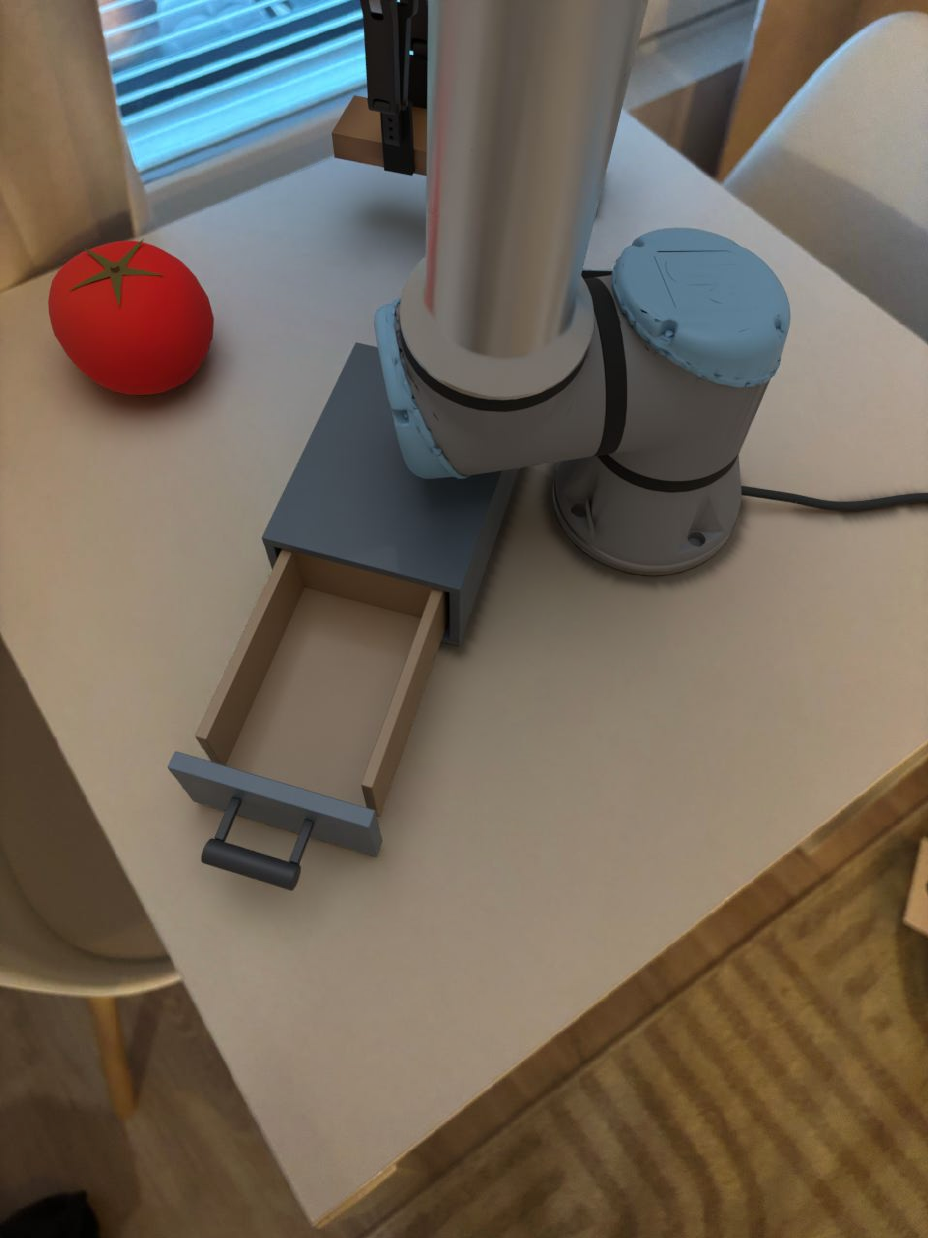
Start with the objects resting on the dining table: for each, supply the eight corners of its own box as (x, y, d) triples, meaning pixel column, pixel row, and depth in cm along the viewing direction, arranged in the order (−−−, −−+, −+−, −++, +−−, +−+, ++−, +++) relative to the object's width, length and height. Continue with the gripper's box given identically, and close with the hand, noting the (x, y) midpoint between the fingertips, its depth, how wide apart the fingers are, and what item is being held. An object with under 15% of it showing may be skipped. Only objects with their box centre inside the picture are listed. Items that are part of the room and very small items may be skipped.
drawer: (354, 922, 61) (344, 899, 55) (165, 863, 63) (135, 834, 57) (457, 625, 72) (457, 578, 66) (292, 581, 73) (278, 532, 67)
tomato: (255, 365, 85) (231, 272, 76) (138, 443, 81) (98, 355, 72) (160, 286, 90) (127, 190, 81) (44, 356, 86) (-4, 262, 77)
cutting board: (486, 145, 88) (487, 119, 86) (468, 184, 86) (469, 159, 83) (356, 119, 90) (353, 94, 88) (334, 157, 87) (331, 132, 85)
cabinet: (459, 647, 72) (460, 589, 64) (280, 598, 74) (261, 537, 66) (525, 452, 81) (532, 382, 73) (364, 414, 83) (355, 341, 75)
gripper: (390, -213, 73) (404, 84, 93) (300, -97, 64) (337, 204, 84) (484, -200, 72) (477, 97, 92) (405, -80, 63) (417, 221, 83)
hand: (410, 148), depth 88 cm, fingers closed on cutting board, 6 cm apart
